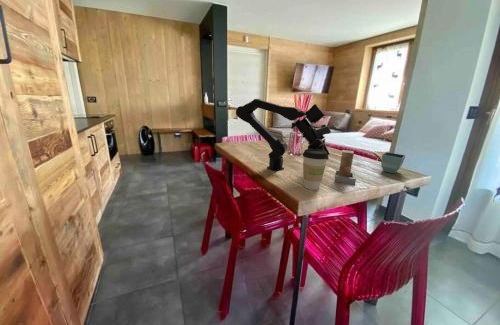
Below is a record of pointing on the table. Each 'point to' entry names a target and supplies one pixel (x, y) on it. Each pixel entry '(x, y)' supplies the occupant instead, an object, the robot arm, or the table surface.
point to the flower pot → (392, 162)
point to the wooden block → (346, 163)
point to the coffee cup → (313, 167)
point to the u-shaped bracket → (345, 178)
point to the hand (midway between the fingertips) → (328, 156)
